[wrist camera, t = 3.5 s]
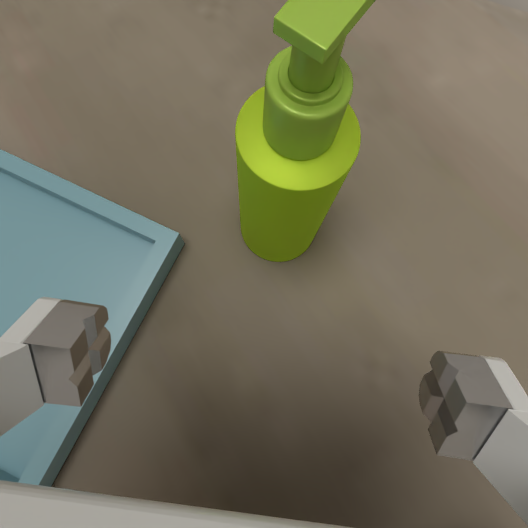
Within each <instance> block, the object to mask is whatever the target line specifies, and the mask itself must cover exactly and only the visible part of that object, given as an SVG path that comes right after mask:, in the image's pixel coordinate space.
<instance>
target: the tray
mask: <svg viewBox="0 0 528 528" xmlns="http://www.w3.org/2000/svg"><path fill="white" fill-rule="evenodd" d="M184 244H185V243H184V241H183V240H182V238H181V236H180V234H179V233H177V232H175V231H173V230H171V229H169V228H167V227H164V226H162V225H160V224H158V223H156V222H154V221H152V220H150V219H147V218H145V217H143V216H141V215H139V214H137V213H135V212H133V211H130V210H128V209H126V208H124V207H122V206H120V205H118V204H116V203H113V202H111V201H109V200H107V199H105V198H103V197H101V196H99V195H96V194H94V193H92V192H90V191H88V190H86V189H84V188H82V187H79V186H77V185H75V184H73V183H71V182H69V181H67V180H65V179H62V178H60V177H58V176H56V175H54V174H52V173H50V172H48V171H45V170H43V169H41V168H39V167H37V166H35V165H33V164H30V163H28V162H26V161H24V160H22V159H20V158H18V157H16V156H13V155H11V154H9V153H7V152H5V151H3V150H1V149H0V337H1V336H2V335H3V334H4V333H5V332H6V331H7V330H8V329H9V328H10V327H11V326H12V325H13V324H14V323H15V322H16V321H17V320H18V319H19V318H20V317H21V316H22V315H23V314H24V313H25V311H26V310H27V309H28V308H29V307H30V306H31V305H32V304H33V303H34V302H35V301H36V300H37V299H39V298H42V297H50V298H56V299H62V300H64V299H65V300H71V301H78V302H84V303H90V304H97V305H103V306H105V307H106V308H107V311H108V317H109V319H108V321H107V323H106V324H105V327H106V329H107V330H108V331H109V332H110V334H111V349H110V353H109V356H108V359H107V362H106V364H105V366H104V368H103V369H102V371H100V372H98V373H96V374H95V375H93V381H94V385H93V387H92V389H91V390H90V392H89V394H88V396H87V397H86V399H85V401H84V403H83V404H82V406H81V407H77V406H67V405H58V404H49V403H44V406H42V407H41V408H39V409H38V410H37V411H35V412H34V413H32V414H31V415H30V416H28V417H27V418H25V419H24V420H23V421H21V422H20V423H18V424H17V425H16V426H14V427H13V428H11V429H10V430H9V431H7V432H6V433H5V434H3V435H2V436H0V480H3V481H11V482H18V483H26V484H33V485H41V486H48V487H51V486H52V484H53V482H54V480H55V478H56V476H57V475H58V473H59V471H60V469H61V467H62V466H63V464H64V462H65V460H66V458H67V456H68V455H69V453H70V451H71V449H72V447H73V446H74V444H75V442H76V440H77V438H78V437H79V435H80V433H81V431H82V429H83V427H84V426H85V424H86V422H87V420H88V418H89V417H90V415H91V413H92V411H93V409H94V407H95V406H96V404H97V402H98V400H99V398H100V397H101V395H102V393H103V391H104V389H105V387H106V386H107V384H108V382H109V380H110V378H111V377H112V375H113V373H114V371H115V369H116V367H117V366H118V364H119V362H120V360H121V358H122V357H123V355H124V353H125V351H126V349H127V348H128V346H129V344H130V342H131V340H132V338H133V337H134V335H135V333H136V331H137V329H138V328H139V326H140V324H141V322H142V320H143V318H144V317H145V315H146V313H147V311H148V309H149V308H150V306H151V304H152V302H153V300H154V298H155V297H156V295H157V293H158V291H159V289H160V288H161V286H162V284H163V282H164V280H165V278H166V277H167V275H168V273H169V271H170V269H171V268H172V266H173V264H174V262H175V260H176V258H177V257H178V255H179V253H180V251H181V249H182V248H183V246H184Z"/></svg>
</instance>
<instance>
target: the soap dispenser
mask: <svg viewBox="0 0 528 528" xmlns="http://www.w3.org/2000/svg"><path fill="white" fill-rule="evenodd" d="M374 2H375V0H288V1H287V2H286V3H285V5H284V6H283V7H282V8H281V9H280V11H279V12H278V13H277V14H276V16H275V17H274V27H273V33H274V34H276V35H277V36H279V37H281V38H282V39H284V40H285V41H287V42H288V43H290V44H291V45H292V46H290V47H288V48H286V49H284V50H282V51H281V52H280V53H278V54H277V55H276V56H275V57H274V58H273V60H272V61H271V63H270V64H269V67H268V69H267V72H266V78H265V86H264V87H262V88H260V89H259V90H257V91H256V92H255V93H254V94H253V95H251V96H250V97H249V99H248V100H247V101H246V102H245V104H244V105H243V107H242V108H241V110H240V113H239V115H238V118H237V122H236V128H235V138H236V155H237V171H238V188H239V205H240V222H241V232H242V236H243V239H244V241H245V243H246V245H247V246H248V247H249V249H250V250H251V251H252V252H253V253H255V254H256V255H258V256H259V257H261V258H263V259H266V260H269V261H274V262H283V261H289V260H292V259H294V258H296V257H298V256H300V255H301V254H302V253H304V252H305V251H306V250H307V248H308V247H309V246H310V244H311V242H312V240H313V239H314V237H315V235H316V233H317V231H318V229H319V227H320V225H321V224H322V222H323V220H324V218H325V216H326V214H327V212H328V210H329V208H330V207H331V205H332V203H333V201H334V199H335V197H336V195H337V193H338V192H339V190H340V188H341V186H342V184H343V182H344V180H345V178H346V176H347V175H348V173H349V171H350V169H351V167H352V165H353V163H354V161H355V159H356V157H357V155H358V152H359V148H360V140H361V135H360V127H359V123H358V120H357V117H356V115H355V113H354V111H353V109H352V108H351V106H350V105H349V104H348V103H349V101H350V98H351V95H352V91H353V77H352V73H351V70H350V68H349V66H348V65H347V63H346V62H345V61H344V59H343V58H342V57H341V56H340V55H341V52H342V48H343V45H344V42H345V38H346V35H347V34H348V33H349V32H350V31H351V29H352V28H353V27H354V26H355V24H356V23H357V22H358V21H359V20H360V18H361V17H362V16H363V15H364V14H365V12H366V11H367V10H368V9H369V7H370V6H371V5H372V4H373V3H374Z"/></svg>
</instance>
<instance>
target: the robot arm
mask: <svg viewBox="0 0 528 528" xmlns="http://www.w3.org/2000/svg"><path fill="white" fill-rule="evenodd" d="M108 319H109V317H108V311H107V308H106V307H105V306H103V305H97V304H90V303H84V302H78V301H71V300H65V299H64V300H62V299H56V298H50V297H42V298H39V299H37V300H36V301H35V302H34V303H33V304H32V305H31V306H30V307H29V308H28V309H27V310H26V311H25V313H24V314H23V315H22V316H21V317H20V318H19V319H18V320H17V321H16V322H15V323H14V324H13V325H12V326H11V327H10V328H9V329H8V330H7V331H6V332H5V333H4V334H3V335H2V336H1V337H0V436H2V435H3V434H5V433H6V432H7V431H9V430H10V429H11V428H13V427H14V426H16V425H17V424H18V423H20V422H21V421H23V420H24V419H25V418H27V417H28V416H30V415H31V414H32V413H34V412H35V411H37V410H38V409H39V408H41V407H42V406H44V403H49V404H58V405H67V406H77V407H81V406H82V404H83V403H84V401H85V399H86V397H87V396H88V394H89V392H90V390H91V389H92V387H93V385H94V381H93V375H95V374H96V373H98V372H100V371H102V369H103V368H104V366H105V364H106V362H107V359H108V356H109V353H110V349H111V334H110V332H109V331H108V330H107V329H106V327H105V324H106V323H107V321H108ZM430 364H431V366H432V369H433V370H431V371H430V372H428V373H426V374H425V375H424V376H423V378H422V381H421V383H420V388H419V402H420V406H421V410H422V413H423V414H424V415H425V416H426V417H427V418H428V419H429V420H430V421H431V422H432V423H431V424H430V426H429V428H428V431H429V434H430V437H431V440H432V443H433V445H434V448H435V451H436V454H437V455H441V456H447V457H453V458H460V459H466V460H472V461H473V463H474V464H475V466H476V467H477V468H478V469H479V470H480V471H481V472H482V474H483V475H484V476H485V477H486V478H487V479H488V481H489V482H490V483H491V484H492V485H493V486H494V487H495V489H496V490H497V491H498V492H499V493H500V494H501V496H502V497H503V498H504V499H505V500H506V501H507V502H508V504H509V505H510V506H511V507H512V508H513V509H514V511H515V512H516V513H517V514H518V515H519V516H520V517H521V519H522V520H523V521H524V522H525V523H526V524H527V526H528V396H527V394H526V393H525V391H524V389H523V388H522V386H521V385H520V383H519V382H518V380H517V379H516V377H515V375H514V374H513V372H512V371H511V369H510V368H509V366H508V365H507V363H506V362H505V361H504V360H503V359H501V358H497V357H488V356H476V355H468V354H460V353H452V352H444V351H437V352H436V353H435V354H434V355H433V357H432V359H431V361H430ZM0 528H354V527H346V526H339V525H331V524H324V523H316V522H309V521H301V520H294V519H286V518H279V517H271V516H264V515H257V514H249V513H242V512H234V511H227V510H219V509H212V508H204V507H197V506H189V505H182V504H175V503H167V502H160V501H152V500H145V499H137V498H130V497H122V496H115V495H108V494H100V493H93V492H85V491H78V490H70V489H63V488H56V487H48V486H41V485H33V484H26V483H18V482H11V481H3V480H0Z"/></svg>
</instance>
